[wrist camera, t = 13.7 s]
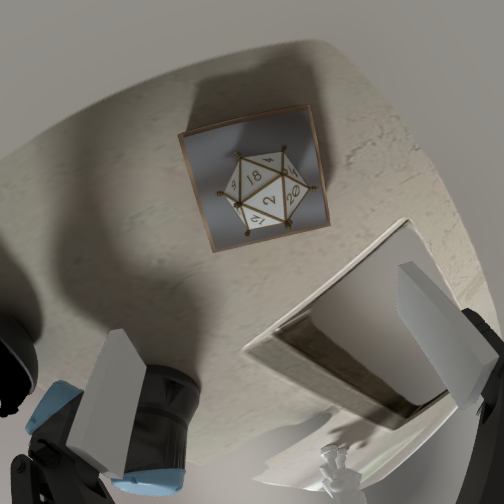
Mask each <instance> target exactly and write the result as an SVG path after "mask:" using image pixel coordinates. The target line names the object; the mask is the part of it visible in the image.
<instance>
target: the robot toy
mask: <svg viewBox="0 0 504 504" xmlns="http://www.w3.org/2000/svg"><path fill="white" fill-rule="evenodd" d="M320 452H321V456H322V457H324V459H325V460H326V461H327V463H325V464H323V465H321V466H320V467H319V469H320V470H321V472H322V474H323V475H324V477H325V479H324V481H322V486H323V487H324V488H325V490H326V491H327V492H328V493H329V494H330V496H331V497H332V498H333V499H331V500H329V501H328V504H367V502H366V498H365V494H364V492H360V491H358V490H359V485H360V481H361V477H362V474H360V473H358V472H356V471H354V470H352V469H348V468H346V467H345V463H344V462H345V460H346V456H347V455H348V454H347V451H346V449H338V446H337V445H329V446H326V447H324V448H322V449H321V450H320Z"/></svg>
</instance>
